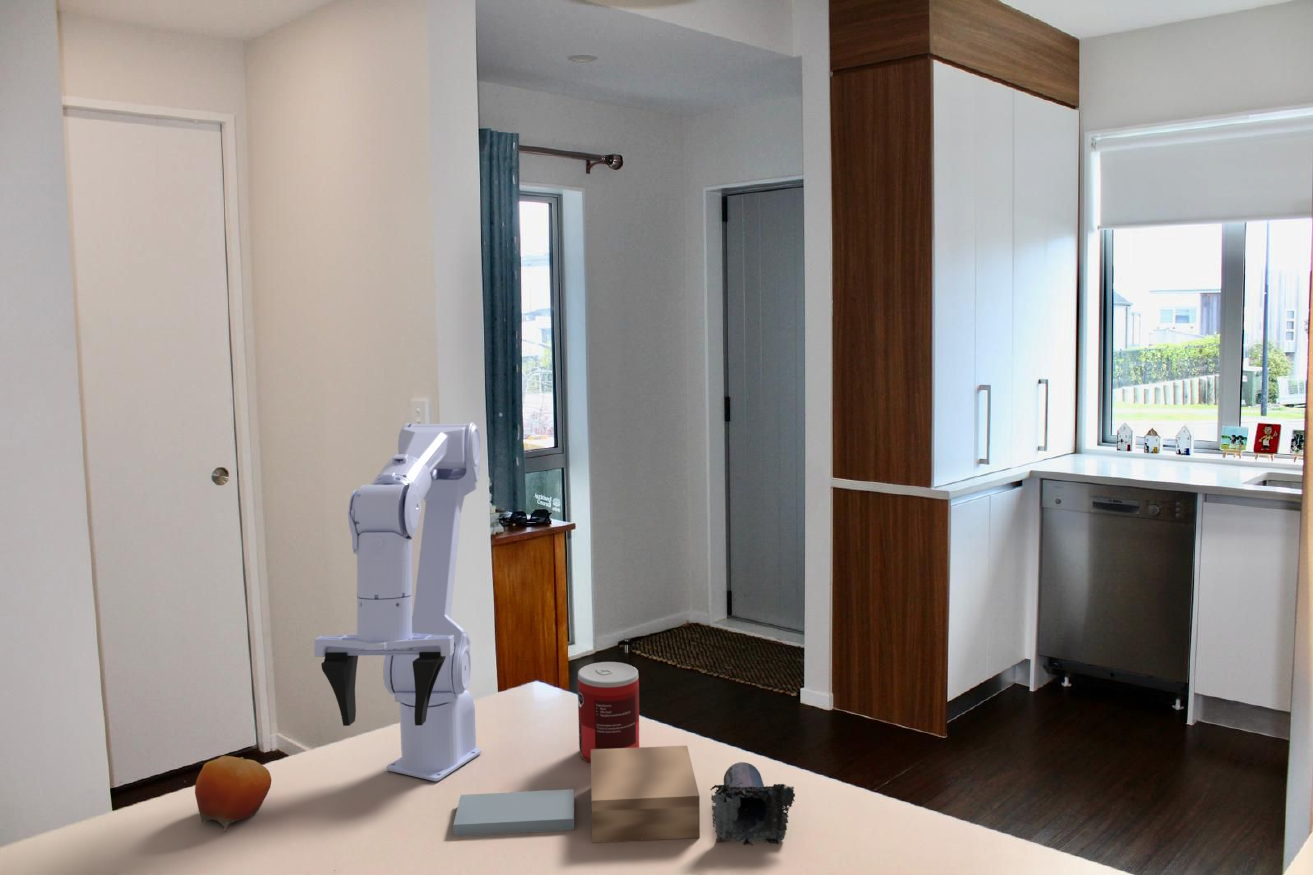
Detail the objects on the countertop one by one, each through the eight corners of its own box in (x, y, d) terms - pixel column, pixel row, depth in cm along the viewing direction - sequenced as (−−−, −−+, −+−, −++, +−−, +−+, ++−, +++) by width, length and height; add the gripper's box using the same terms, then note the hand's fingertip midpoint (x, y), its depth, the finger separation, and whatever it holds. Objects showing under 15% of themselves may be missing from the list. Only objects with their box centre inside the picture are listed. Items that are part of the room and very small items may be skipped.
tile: (454, 840, 109) (453, 824, 109) (461, 809, 116) (460, 794, 116) (574, 834, 110) (573, 818, 110) (574, 804, 117) (573, 789, 117)
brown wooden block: (592, 842, 107) (591, 800, 107) (591, 787, 120) (590, 749, 120) (699, 837, 108) (699, 795, 108) (687, 783, 121) (687, 745, 120)
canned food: (603, 737, 135) (602, 657, 134) (652, 751, 130) (651, 669, 129) (566, 757, 129) (564, 674, 127) (615, 773, 124) (614, 686, 123)
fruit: (164, 821, 110) (190, 746, 113) (213, 828, 117) (236, 757, 120) (223, 833, 107) (247, 756, 110) (270, 839, 114) (291, 766, 117)
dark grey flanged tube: (784, 858, 107) (766, 809, 119) (798, 788, 106) (778, 746, 118) (700, 845, 106) (691, 798, 118) (713, 774, 106) (702, 734, 118)
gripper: (304, 601, 104) (303, 733, 104) (443, 600, 104) (444, 733, 104) (327, 592, 111) (326, 716, 111) (457, 591, 111) (458, 715, 111)
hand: (384, 723), depth 108 cm, fingers open, 7 cm apart
